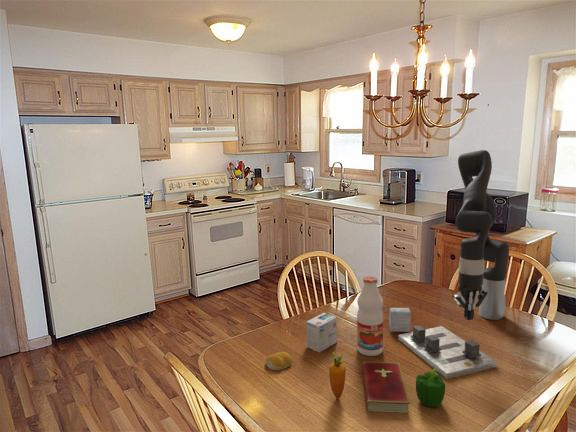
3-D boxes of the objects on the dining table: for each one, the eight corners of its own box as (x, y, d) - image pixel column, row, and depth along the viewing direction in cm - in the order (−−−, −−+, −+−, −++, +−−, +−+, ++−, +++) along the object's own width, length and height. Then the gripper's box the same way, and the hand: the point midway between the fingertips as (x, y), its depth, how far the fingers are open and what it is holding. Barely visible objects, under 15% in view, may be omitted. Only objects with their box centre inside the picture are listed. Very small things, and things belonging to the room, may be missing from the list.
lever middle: (434, 344, 149) (434, 334, 148) (441, 350, 145) (441, 339, 144) (423, 347, 148) (424, 336, 147) (430, 352, 144) (431, 341, 143)
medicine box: (408, 327, 168) (408, 307, 167) (410, 332, 164) (411, 312, 162) (388, 327, 169) (389, 307, 167) (390, 332, 165) (390, 312, 163)
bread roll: (296, 365, 144) (295, 354, 143) (274, 374, 139) (274, 363, 138) (283, 355, 151) (283, 345, 150) (262, 363, 146) (261, 352, 145)
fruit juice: (379, 343, 156) (379, 273, 151) (385, 356, 147) (386, 282, 142) (354, 344, 156) (354, 274, 151) (359, 357, 147) (359, 283, 141)
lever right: (420, 335, 156) (421, 324, 156) (427, 339, 153) (427, 329, 152) (410, 337, 155) (411, 326, 154) (417, 341, 151) (417, 331, 151)
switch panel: (441, 330, 164) (442, 325, 164) (496, 366, 138) (496, 361, 138) (398, 339, 159) (398, 334, 158) (446, 379, 132) (446, 373, 132)
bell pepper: (429, 415, 116) (430, 383, 114) (409, 398, 123) (410, 368, 121) (451, 406, 119) (453, 375, 117) (431, 390, 127) (432, 361, 125)
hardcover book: (366, 413, 118) (366, 400, 118) (362, 371, 139) (362, 360, 138) (409, 415, 117) (409, 402, 116) (398, 373, 137) (399, 361, 136)
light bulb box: (324, 337, 163) (324, 311, 161) (337, 342, 158) (337, 316, 156) (306, 347, 155) (305, 320, 153) (319, 353, 151) (318, 326, 149)
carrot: (328, 394, 127) (327, 350, 124) (344, 393, 127) (343, 348, 124) (331, 404, 122) (330, 358, 119) (347, 403, 122) (347, 357, 119)
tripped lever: (472, 350, 144) (473, 339, 144) (481, 355, 141) (481, 344, 140) (462, 352, 143) (462, 341, 142) (470, 358, 139) (471, 347, 138)
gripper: (479, 264, 140) (476, 311, 144) (446, 269, 137) (445, 317, 140) (496, 271, 133) (493, 320, 137) (462, 276, 130) (460, 327, 133)
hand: (468, 319), depth 138 cm, fingers closed
